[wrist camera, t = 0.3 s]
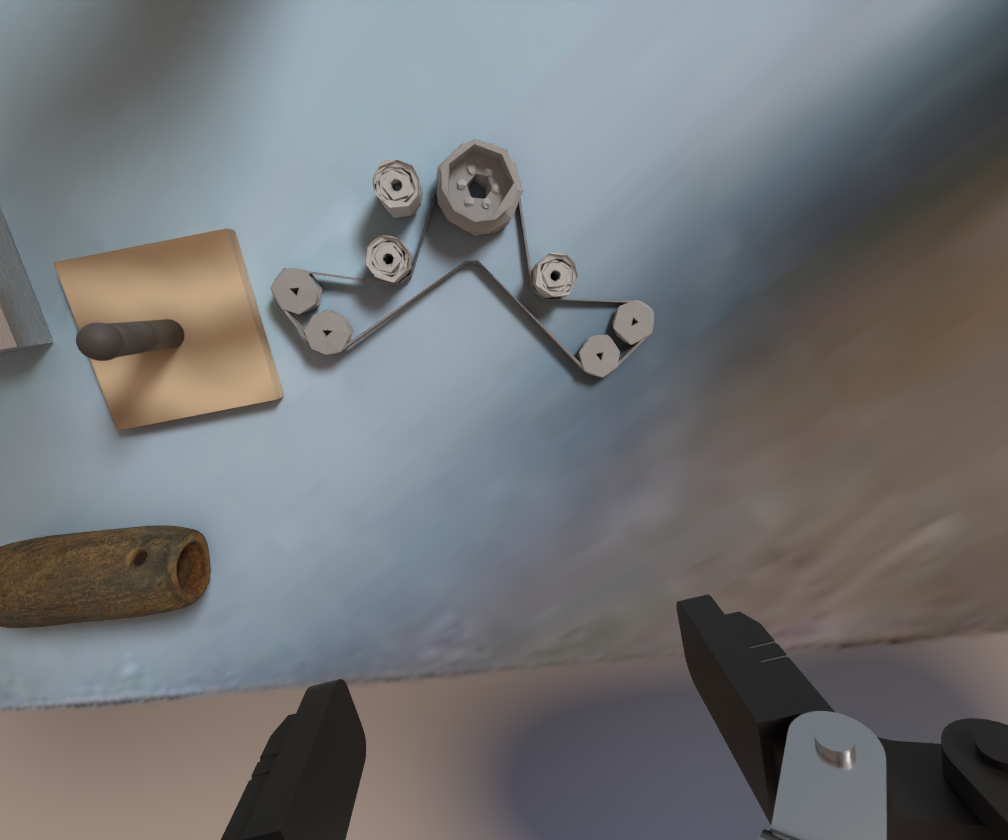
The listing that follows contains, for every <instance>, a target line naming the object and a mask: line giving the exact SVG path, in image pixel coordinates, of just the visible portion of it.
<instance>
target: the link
mask: <svg viewBox="0 0 1008 840" xmlns="http://www.w3.org/2000/svg"><path fill="white" fill-rule="evenodd" d="M49 343H53V340H52V338H51V335H50V333H49V330H48V328H47V325H46V323H45V320H44V318H43V315H42V313H41V310H40V308H39V305H38V302H37V300H36V297H35V295H34V292H33V290H32V287H31V285H30V282H29V280H28V277H27V275H26V272H25V270H24V267H23V265H22V262H21V260H20V257H19V254H18V252H17V249H16V247H15V244H14V242H13V239H12V237H11V234H10V232H9V229H8V227H7V224H6V222H5V219H4V217H3V214H2V211H1V209H0V353H3V352H9V351H14V350H19V349H24V348H29V347H34V346H39V345H44V344H49Z"/></svg>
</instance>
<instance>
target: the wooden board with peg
mask: <svg viewBox="0 0 1008 840" xmlns="http://www.w3.org/2000/svg"><path fill="white" fill-rule="evenodd" d="M54 266H55V268H56V271H57V273H58V276H59V279H60V281H61V284H62V287H63V289H64V292H65V294H66V297H67V300H68V302H69V305H70V308H71V310H72V313H73V315H74V318H75V321H76V323H77V326H78V328H79V332H78V334H77V337H76V343H77V346H78V348H79V350H80V351H81V352H82V353H83V354H84V355H85V356H87V357H88V358H90V360H91V363H92V365H93V368H94V370H95V373H96V376H97V378H98V381H99V384H100V386H101V389H102V391H103V394H104V397H105V399H106V402H107V404H108V407H109V410H110V412H111V415H112V418H113V420H114V423H115V425H116V428H117V431H119V430H124V429H129V428H134V427H139V426H144V425H149V424H154V423H159V422H165V421H170V420H175V419H180V418H185V417H190V416H195V415H200V414H205V413H211V412H216V411H221V410H226V409H231V408H236V407H241V406H246V405H251V404H257V403H262V402H267V401H272V400H277V399H280V398H282V397H284V395H283V391H282V388H281V385H280V381H279V378H278V374H277V371H276V368H275V364H274V361H273V358H272V354H271V351H270V348H269V344H268V341H267V337H266V334H265V331H264V327H263V324H262V321H261V317H260V314H259V311H258V307H257V304H256V300H255V297H254V294H253V290H252V287H251V284H250V280H249V277H248V274H247V270H246V267H245V263H244V260H243V257H242V253H241V250H240V247H239V243H238V240H237V237H236V233H235V231H233V230H230V229H223V230H217V231H212V232H207V233H202V234H197V235H192V236H187V237H182V238H177V239H172V240H167V241H162V242H157V243H152V244H146V245H141V246H136V247H131V248H126V249H121V250H116V251H111V252H106V253H101V254H96V255H91V256H86V257H81V258H76V259H70V260H65V261H60V262H55V263H54Z"/></svg>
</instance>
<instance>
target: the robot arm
mask: <svg viewBox="0 0 1008 840" xmlns="http://www.w3.org/2000/svg"><path fill="white" fill-rule="evenodd" d="M676 606H677V613H678V619H679V625H680V630H681V636H682V642H683V647H684V653H685V658H686V662H687V666H688V669H689V672H690V675H691V677H692V680H693V682H694V684H695V686H696V688H697V690H698V692H699V694H700V696H701V697H702V699H703V701H704V703H705V705H706V707H707V708H708V710H709V712H710V714H711V716H712V718H713V719H714V721H715V723H716V725H717V727H718V729H719V730H720V732H721V734H722V736H723V738H724V740H725V742H726V743H727V745H728V747H729V749H730V751H731V753H732V754H733V756H734V758H735V760H736V762H737V763H738V766H739V767H740V769H741V771H742V773H743V775H744V776H745V778H746V780H747V782H748V784H749V786H750V788H751V789H752V791H753V793H754V795H755V797H756V799H757V800H758V802H759V804H760V806H761V808H762V809H763V812H764V813H765V815H766V817H767V819H768V820H769V822H770V824H771V828H770V831H767V830H763V831H762V833H761V835H760V838H759V840H1008V725H1006V724H1003V723H1000V722H995V721H991V720H985V719H973V718H970V719H961V720H957V721H954V722H952V723H950V724H949V725H948V726H946V727H945V729H944V730H943V732H942V736H941V744H933V743H918V742H902V741H893V740H887V739H883V738H879V737H876V736H875V735H874V733H872V732H871V731H870V730H869V729H868V728H867V727H865V726H864V725H863V724H861V723H860V722H858V721H856V720H854V719H852V718H850V717H847V716H845V715H842V714H839V713H836V712H835V711H834V710H833V709H832V708H831V707H830V706H829V705H828V703H827V702H826V701H825V700H824V699H823V697H822V696H821V695H820V694H819V693H818V692H817V690H816V689H815V688H814V687H813V686H812V684H811V683H810V682H809V681H808V680H807V678H806V677H805V676H804V675H803V674H802V672H801V671H800V670H799V669H798V668H797V667H796V665H795V664H794V663H793V662H792V661H791V659H790V658H787V656H786V653H785V652H784V651H783V650H782V649H781V648H780V646H779V645H778V644H776V643H775V641H774V639H773V638H772V637H771V636H770V634H769V633H768V632H767V631H766V630H765V629H764V627H763V626H762V625H761V624H760V623H758V622H757V621H755V620H753V619H752V618H750V617H748V616H746V615H745V614H743V613H741V612H735V613H731V614H726V615H725V614H724V613H723V612H722V610H721V609H720V608H719V606H718V605H717V604H716V602H715V601H714V600H713V598H712V597H711V596H710V595H703V596H699V597H695V598H691V599H686V600H682V601H678V602H677V605H676ZM365 758H366V740H365V734H364V730H363V727H362V724H361V722H360V719H359V716H358V714H357V711H356V708H355V706H354V703H353V701H352V698H351V695H350V692H349V689H348V687H347V684H346V683H345V681H344V680H342V679H339V680H335V681H331V682H327V683H322V684H318V685H314V686H310V687H309V688H308V689H307V691H306V692H305V695H304V697H303V699H302V701H301V704H300V706H299V708H298V711H297V713H296V714H292V715H288V716H287V717H286V719H285V720H284V721H283V722H282V723H281V725H280V726H279V727H278V728H277V729H276V730H275V731H274V733H273V734H272V735H271V736H270V738H269V740H268V742H267V744H266V747H265V749H264V751H263V753H262V755H261V757H260V762H258V763H257V766H256V767H255V770H254V772H253V774H252V779H251V780H250V781H249V782H248V784H247V786H246V788H245V791H244V793H243V795H242V797H241V799H240V801H239V803H238V805H237V807H236V809H235V811H234V813H233V816H232V818H231V820H230V822H229V824H228V826H227V828H226V830H225V832H224V834H223V836H222V838H221V840H345V839H346V835H347V831H348V827H349V823H350V819H351V815H352V811H353V807H354V803H355V799H356V795H357V791H358V787H359V783H360V779H361V775H362V771H363V767H364V763H365Z"/></svg>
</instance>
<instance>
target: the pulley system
mask: <svg viewBox="0 0 1008 840" xmlns="http://www.w3.org/2000/svg"><path fill="white" fill-rule="evenodd" d="M473 181H475V182H477V183H478V184H480V185H481V186H483V187H484V188H486V195H485V198H483V199H481V198H472V197H471V195H470V193H469V189H470V187H471V184H472V182H473ZM373 187H374V191H375V195H376V196H377V197H378V199H379V200H380V201H381V203H382V205H383V207H384V208H385V209H386V210H387V211H388V212H389V213H390V214H391V215H392V217H393V218H398V217H405V216H411V215H412V214H413V213H414V212H415V211H416V210H417V209H418V208H419V207H420V206H421V201H422V195H423V192H422V189H421V185H420V182H419V178H418V176H417V174H416V172H415V170H414V168H413V166H412V165H409V164H407V163H404V162H401V161H399V160H387V161H382V162H381V163H380V165H379V167H378V169H377V171H376V173H375V174H374V176H373ZM398 188H401V190H399V191H396V190H397V189H398ZM522 192H523V190H522V186H521V182H520V178H519V175H518V171H517V167H516V163H515V162H514V161H513V160H512V159H510V157H509V154H508V151H507V149H504V148H500V147H497V146H496V145H495V144H494V143H485V142H481V141H478V140H475V139H474V140H472V141H470V142H468V143H462V144H461V145H460V146H459V147H458V148H457V149H455V150H453V152H452V153H451V155H450V156H449V157H448V158H447V159H445V160H444V161H443V162H442V163H441V164H440V165H439V166H438V186H437V190H436V193H435V196H434V200H433V203H432V206H431V209H430V213H429V216H428V219H427V222H426V226H425V229H424V232H423V235H422V239H421V242H420V245H419V248H418V252H417V255H416V258H415V261H414V265H413V268H412V264H413V260H412V255H411V252H410V251H409V250H408V248H407V247H406V246H405V245H404V243H403V242H402V241H401V240H400V239H398V238H395V237H392V236H383V235H381V236H380V237H378V238H376V239H375V240H373V241H372V242H371V243H370V244H369V245H368V247H367V252H366V265H367V267H368V268H369V270H370V271H371V272H372V273H373V274H374V276H375V277H377V278H378V279H380V280H382V281H384V282H381V281H373V280H366V279H359V278H352V277H344V276H337V275H330V274H323V273H315V272H308V271H306V270H301V269H295V268H291V269H287V268H284V269H283V270H282V271H281V273H280V274H279V275H278V277H277V278H276V279H275V281H274V282H273V284H272V286H271V291H272V293H273V296H274V298H275V300H276V302H277V303H278V305H279V306H280V307H281V309H282V310H283V311H284V312H285V314H286V315H287V316H288V318H289V319H290V320H291V321H292V323H293V324H294V325H295V327H296V328H297V329H298V330H299V332H300V333H301V334H302V336H303V337H304V338H305V339H306V341H307V342H308V343H309V345H310V347H311V349H313V350H315V351H317V352H319V353H321V354H323V355H333V354H337V353H340V352H342V351H344V350H345V349H347V348H348V347H350V346H351V345H352V344H354V343H355V342H357V341H358V340H359V339H361V338H362V337H364V336H365V335H367V334H368V333H369V332H371V331H372V330H374V329H375V328H376V327H378V326H379V325H381V324H382V323H384V322H385V321H386V320H388V319H389V318H391V317H392V316H393V315H395V314H396V313H398V312H399V311H401V310H402V309H403V308H405V307H406V306H408V305H409V304H410V303H412V302H413V301H415V300H416V299H418V298H419V297H420V296H422V295H423V294H425V293H426V292H427V291H429V290H430V289H432V288H433V287H435V286H436V285H437V284H439V283H440V282H442V281H443V280H444V279H446V278H447V277H449V276H450V275H452V274H453V273H454V272H456V271H457V270H459V269H460V268H461V267H463V266H464V265H466V264H467V263H469V262H470V263H474V264H477V265H481V266H482V267H483V268H484V269H485V270H486V271H487V272H488V273H489V274H490V275H491V276H492V277H493V278H494V279H495V281H496V282H497V283H498V284H499V285H500V286H501V287H502V288H503V289H504V290H505V291H506V292H507V293H508V294H509V295H510V296H511V297H512V298H513V299H514V300H515V301H516V302H517V303H518V304H519V305H520V306H521V307H522V309H523V310H524V311H525V312H526V313H527V314H528V315H529V316H530V317H531V318H532V319H533V320H534V321H535V322H536V323H537V324H538V325H539V326H540V327H541V328H542V329H543V330H544V331H545V332H546V333H547V334H548V335H549V336H550V338H551V339H552V340H553V341H554V342H555V343H556V344H557V345H558V346H559V347H560V348H561V349H562V350H563V351H564V352H565V353H566V354H567V355H568V356H569V357H570V358H571V359H572V360H573V361H574V362H575V363H576V364H577V365H578V367H579V368H580V369H581V370H582V371H583V372H585V373H587V374H589V375H592V376H598V377H605V376H607V375H608V374H610V373H611V372H613V371H614V370H615V369H616V368H617V367H618V366H619V365H620V364H621V363H622V362H623V361H624V360H625V359H626V358H627V357H628V356H629V355H630V354H631V353H632V352H633V351H634V350H635V349H636V348H637V347H638V346H639V345H640V344H641V343H642V342H643V341H644V340H645V339H646V338H647V337H648V336H649V335H650V334H651V333H652V330H653V326H654V311H653V310H652V309H651V308H650V307H649V306H647V305H646V304H645V303H643V302H641V301H637V300H576V299H545V298H561V297H564V296H567V295H570V293H571V291H572V288H573V286H574V284H575V282H576V279H577V271H576V267H575V262H574V261H573V260H572V259H571V258H569V257H568V256H567V255H562V254H558V253H548V254H547V255H546V256H545V257H544V258H542V259H541V260H540V261H539V262H538V263H537V264H536V265H535V266H534V268H533V269H532V274H531V268H530V261H529V254H528V247H527V240H526V233H525V227H524V220H523V213H522V206H521V199H520V197H521V195H522ZM436 197H437V203H438V205H439V206H440V208H441V209H442V211H443V213H444V215H445V218H446V219H447V220H448V221H450V222H452V223H453V224H454V225H457V226H458V227H460V228H461V229H463V230H465V231H467V232H469V233H470V234H472V235H474V236H477V235H483V234H489V233H496V232H497V231H499V230H500V229H502V228H503V227H504V226H506V225H507V224H509V222H510V220H511V219H512V218H513V215H514V213H515V210H516V208H517V205H518V204H519V210H520V217H521V224H522V231H523V238H524V245H525V253H526V260H527V267H528V274H529V281H530V288H531V289H532V290H533V291H534V293H535V294H536V295H537V296H538V297H539V298H540V299H541V300H555V301H581V302H606V303H626V304H623V305H621V306H619V308H618V310H616V312H615V315H614V318H613V321H612V325H613V328H614V330H615V335H616V336H618V337H619V338H621V339H622V340H623V341H625V342H627V343H629V344H630V345H632V344H634V345H633V346H632V347H631V348H630V349H629V350H628V351H627V352H626V353H625V354H624V355H623V356H622V357H621V358H619V355H620V351H619V349H618V348H617V346H616V345H615V343H614V342H613V340H612V339H611V338H610V337H609V336H608V335H596V336H591V337H590V338H588V339H585V342H584V344H583V346H582V347H581V349H580V351H579V353H578V354H577V359H576V358H575V357H574V356H573V355H572V354H571V353H570V352H569V351H568V350H567V349H566V348H565V347H564V346H563V345H562V344H561V343H560V342H559V341H558V340H557V339H556V338H555V337H554V336H553V335H552V334H551V333H550V332H549V331H548V330H547V329H546V328H545V327H544V326H543V325H542V324H541V323H540V322H539V321H538V320H537V319H536V318H535V317H534V316H533V315H532V314H531V313H530V312H529V311H528V310H527V309H526V308H525V307H524V306H523V305H522V304H521V303H520V302H519V301H518V300H517V299H516V298H515V297H514V296H513V295H512V294H511V293H510V292H509V291H508V290H507V289H506V288H505V287H504V286H503V285H502V284H501V283H500V282H499V281H498V280H497V279H496V278H495V277H494V276H493V275H492V274H491V273H490V272H489V271H488V270H487V269H486V268H485V267H484V266H483V265H482V264H481V263H480V262H479V261H465V262H463V263H462V264H461V265H459V266H458V267H456V268H455V269H453V270H452V271H450V272H449V273H448V274H446V275H445V276H443V277H442V278H440V279H439V280H438V281H436V282H435V283H433V284H432V285H430V286H429V287H427V288H426V289H425V290H423V291H422V292H420V293H419V294H417V295H416V296H415V297H413V298H412V299H410V300H409V301H407V302H406V303H405V304H403V305H402V306H400V307H399V308H397V309H396V310H394V311H393V312H392V313H390V314H389V315H387V316H386V317H384V318H383V319H382V320H380V321H379V322H377V323H376V324H374V325H373V326H371V327H370V328H369V329H367V330H366V331H364V332H363V333H361V334H360V335H359V336H357V337H356V338H354V339H353V340H351V336H352V333H353V329H352V327H351V325H350V323H349V321H348V319H347V318H345V317H344V316H342V315H340V314H338V313H336V312H334V311H332V310H331V311H330V310H326V311H323V312H321V313H318V314H316V315H313V317H312V318H311V320H310V322H309V323H308V325H307V327H306V328H305V329H304V328H303V327H302V325H301V324H300V323H299V322H298V320H297V319H296V318H295V316H294V315H293V314H292V313H294V314H300V313H306V312H308V311H310V310H312V309H313V308H315V307H317V306H319V305H320V300H321V295H322V288H321V287H320V285H319V284H318V282H317V281H316V279H315V278H314V276H313V275H312V274H317V275H324V276H331V277H339V278H346V279H353V280H360V281H368V282H375V283H382V284H388V285H394V286H397V285H399V284H402V283H404V282H406V281H408V280H410V279H411V277H412V274H413V271H414V268H415V265H416V262H417V258H418V255H419V252H420V249H421V246H422V243H423V239H424V236H425V233H426V230H427V227H428V223H429V220H430V217H431V214H432V210H433V207H434V204H435V200H436ZM390 257H393V263H392V264H387V260H388V258H390ZM410 273H411V274H410ZM551 273H553V274H554V275H555V276H556V279H555V281H553V280H552V279H551V276H550V275H551ZM396 283H397V284H396ZM298 289H299V290H298ZM297 291H298V293H297ZM291 312H292V313H291ZM633 320H634V321H635V322H634V323H633V324H632V321H633ZM327 330H328V331H332V332H331V333H330V334H328V331H327ZM350 340H351V341H350ZM596 354H599V356H600V358H599V357H598V356H597V355H596Z"/></svg>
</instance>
